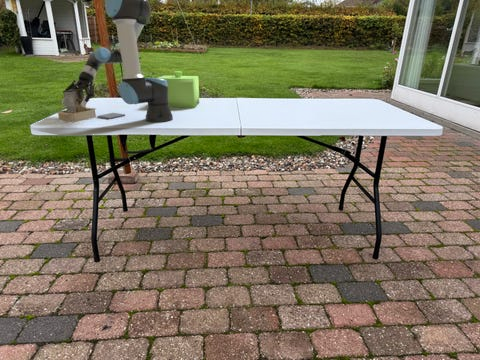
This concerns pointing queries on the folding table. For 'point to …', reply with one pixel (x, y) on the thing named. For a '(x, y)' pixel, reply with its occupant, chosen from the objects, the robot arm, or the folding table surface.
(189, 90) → the canister
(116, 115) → the mat
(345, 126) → the folding table surface
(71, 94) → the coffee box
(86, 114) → the carton
